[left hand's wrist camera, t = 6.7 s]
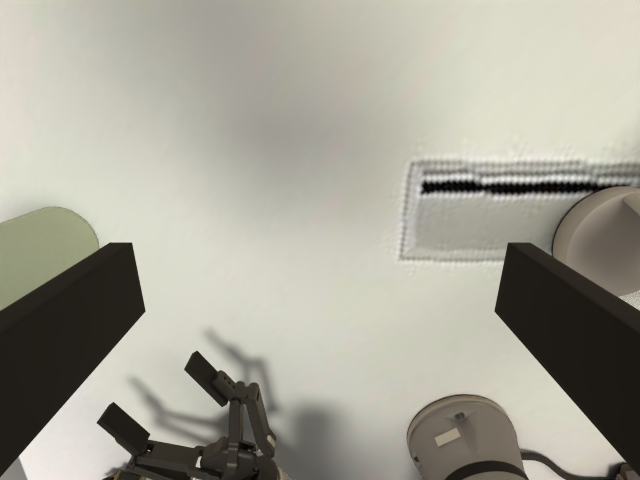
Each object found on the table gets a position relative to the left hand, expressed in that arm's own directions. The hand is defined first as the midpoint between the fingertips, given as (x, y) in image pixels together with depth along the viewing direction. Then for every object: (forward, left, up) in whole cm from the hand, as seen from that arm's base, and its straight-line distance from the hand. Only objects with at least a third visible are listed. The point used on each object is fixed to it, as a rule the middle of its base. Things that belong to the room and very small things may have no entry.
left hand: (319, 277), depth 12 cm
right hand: (+25, -20, -21) cm, 38 cm away
